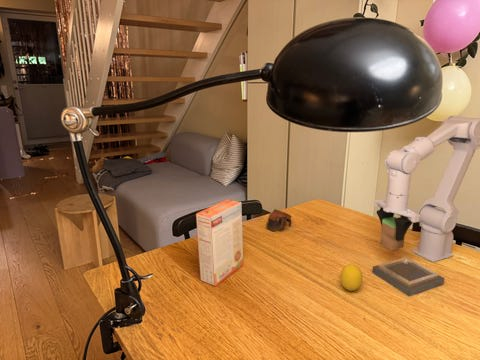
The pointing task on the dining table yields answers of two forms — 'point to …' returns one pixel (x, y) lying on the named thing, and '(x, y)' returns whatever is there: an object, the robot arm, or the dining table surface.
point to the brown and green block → (390, 234)
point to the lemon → (351, 277)
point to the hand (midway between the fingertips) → (392, 236)
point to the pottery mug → (280, 224)
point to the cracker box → (220, 241)
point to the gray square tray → (408, 276)
